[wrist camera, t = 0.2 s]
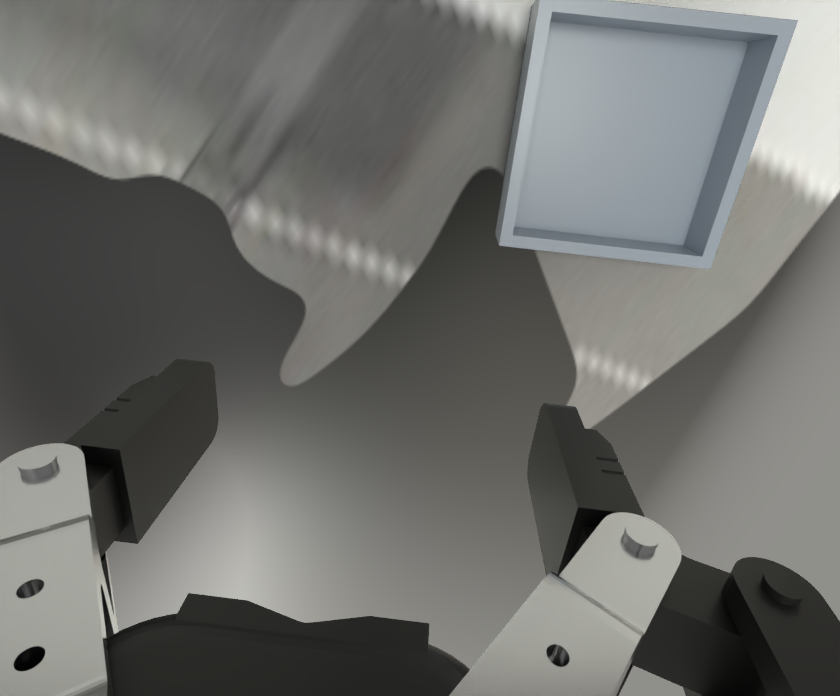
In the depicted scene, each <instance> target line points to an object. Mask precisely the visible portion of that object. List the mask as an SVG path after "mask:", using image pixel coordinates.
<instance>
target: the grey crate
mask: <svg viewBox="0 0 840 696" xmlns="http://www.w3.org/2000/svg"><path fill="white" fill-rule="evenodd" d="M797 21H798V20H789V19H779V18H770V17H760V16H751V15H741V14H732V13H722V12H713V11H703V10H693V9H684V8H674V7H665V6H655V5H646V4H636V3H627V2H617V1H607V0H536V1H535V3H534V4H533V5H532V7H531V13H530V19H529V26H528V32H527V38H526V44H525V50H524V57H523V63H522V69H521V75H520V81H519V88H518V94H517V100H516V106H515V112H514V119H513V125H512V131H511V137H510V143H509V150H508V156H507V162H506V168H505V174H504V181H503V187H502V194H501V199H500V206H499V212H498V218H497V224H496V231H495V234H496V238H497V240H498V244H499V245H500V246H508V247H517V248H526V249H534V250H543V251H552V252H561V253H570V254H579V255H588V256H597V257H605V258H614V259H623V260H632V261H641V262H650V263H659V264H668V265H676V266H685V267H694V268H703V269H710V268H711V266H712V263H713V260H714V257H715V254H716V251H717V249H718V246H719V243H720V240H721V237H722V234H723V231H724V229H725V226H726V223H727V220H728V217H729V214H730V212H731V209H732V206H733V203H734V200H735V197H736V195H737V192H738V189H739V186H740V183H741V180H742V178H743V175H744V172H745V169H746V166H747V163H748V161H749V158H750V155H751V152H752V149H753V146H754V144H755V141H756V138H757V135H758V132H759V129H760V126H761V124H762V121H763V118H764V115H765V112H766V109H767V107H768V104H769V101H770V98H771V95H772V92H773V90H774V87H775V84H776V81H777V78H778V75H779V73H780V70H781V67H782V64H783V61H784V58H785V56H786V53H787V50H788V47H789V44H790V41H791V38H792V36H793V33H794V30H795V27H796V24H797Z"/></svg>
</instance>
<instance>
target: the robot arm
mask: <svg viewBox="0 0 840 696" xmlns="http://www.w3.org/2000/svg"><path fill="white" fill-rule="evenodd" d="M217 426H218V407H217V396H216V384H215V372H214V368H213V365H212V364H211V363H210V362H203V361H194V360H186V359H176V360H175V361H174V362H173V363H171V364H170V365H169V366H168V367H167V368H166V369H165V370H164V371H162V373H160V374H159V375H158V376H151V377H149V378H147V379H145V380H142V381H140V382H138V383H136V384H133V385H131V386H130V387H129V388H128V389H127V390H126V391H124V392H123V393H122V394H121V395H120V396H118V397H117V400H116V401H115V400H114V401H113V402H111V403H110V404H109V405H108V406H107V407H106V408H105V410H104V411H101V412H100V413H99V414H97V415H96V416H95V417H94V418H93V419H92V420H90V421H89V422H88V423H87V424H86V425H85V426H83V427H82V428H81V429H80V430H79V431H78V432H76V433H75V434H74V435H73V436H72V437H70V438H69V439H68V440H67V441H66V442H65V443H63V444H61V443H59V444H46V445H40V446H36V447H32V448H28V449H25V450H23V451H20V452H18V453H16V454H14V455H12V456H10V457H8V458H7V459H5V460H4V461H3V462H1V463H0V696H619V695H620V693H621V691H622V689H623V687H624V685H625V683H626V681H627V679H628V677H629V675H630V673H631V671H632V668H633V667H634V666H636V667H639V668H641V669H643V670H646V671H648V672H650V673H652V674H655V675H657V676H659V677H662V678H664V679H666V680H668V681H671V682H673V683H676V684H678V685H680V686H682V687H683V688H684V691H685V694H686V696H840V621H839V620H838V619H837V617H836V615H835V614H834V613H833V611H832V610H831V608H830V607H829V605H828V604H827V602H826V601H825V599H824V598H823V597H822V596H821V594H820V593H819V592H818V591H817V590H816V589H815V588H814V587H813V586H812V585H811V584H810V583H809V582H808V581H807V580H805V579H804V578H803V577H801V576H800V575H799V574H797V573H795V572H794V571H792V570H791V569H789V568H787V567H785V566H783V565H781V564H778V563H776V562H773V561H770V560H767V559H762V558H756V557H748V558H743V559H740V560H739V561H737V562H736V563H735V565H734V567H733V569H732V571H731V573H728V572H725V571H722V570H720V569H717V568H714V567H711V566H708V565H706V564H703V563H700V562H697V561H694V560H692V559H689V558H687V557H685V556H683V555H681V551H680V548H679V546H678V544H677V542H676V541H675V539H674V538H673V537H672V536H671V535H670V533H669V532H667V531H666V530H665V529H664V528H663V527H661V526H660V525H658V524H657V523H655V522H653V521H652V520H650V519H647V518H645V517H644V515H643V512H642V510H641V508H640V506H639V504H638V502H637V499H636V497H635V495H634V493H633V491H632V489H631V487H630V484H629V482H628V480H627V478H626V476H625V475H624V471H623V469H622V467H621V465H620V463H619V462H618V459H617V456H616V454H615V452H614V450H613V448H612V446H611V444H610V443H609V442H608V441H607V440H606V439H605V438H604V437H603V436H602V435H601V434H600V433H599V432H598V431H597V430H592V429H585V428H584V426H583V423H582V421H581V418H580V416H579V413H578V411H577V409H576V407H573V406H564V405H556V404H548V403H544V404H543V405H542V406H541V409H540V412H539V416H538V421H537V425H536V429H535V433H534V437H533V441H532V445H531V450H530V454H529V459H528V472H527V473H528V474H527V475H528V484H529V489H530V494H531V500H532V505H533V510H534V515H535V520H536V525H537V530H538V536H539V541H540V546H541V551H542V556H543V561H544V566H545V572H546V577H545V578H544V579H543V581H542V582H541V583H540V584H539V585H538V587H537V588H536V589H535V590H534V592H533V593H532V594H531V595H530V596H529V598H528V599H527V600H526V601H525V602H524V604H523V605H522V606H521V607H520V609H519V610H518V611H517V612H516V614H515V615H514V616H513V617H512V619H511V620H510V621H509V622H508V624H507V625H506V626H505V627H504V629H503V630H502V631H501V632H500V633H499V635H498V636H497V637H496V639H495V640H494V641H493V642H492V643H491V645H490V646H489V647H488V648H487V650H486V651H485V652H484V653H483V654H482V656H481V657H480V658H479V660H478V661H477V662H476V663H475V664H474V666H473V667H472V668H471V669H469V668H467V667H466V666H465V665H464V664H463V663H461V662H460V661H459V660H457V659H456V658H454V657H453V656H452V655H449V654H448V653H446V652H444V651H442V650H440V649H439V648H436V647H434V646H432V645H429V644H428V636H429V624H428V623H420V622H412V621H404V620H397V619H388V618H380V617H373V616H366V617H357V618H349V619H340V620H331V621H324V622H313V623H303V622H299V621H296V620H294V619H291V618H289V617H287V616H284V615H282V614H279V613H277V612H274V611H272V610H269V609H267V608H264V607H262V606H259V605H257V604H254V603H252V602H249V601H246V600H238V599H229V598H222V597H214V596H206V595H198V594H190V593H189V594H188V595H187V597H186V599H185V601H184V603H183V604H182V606H181V608H180V610H179V612H178V614H171V615H166V616H162V617H157V618H153V619H151V620H147V621H144V622H141V623H138V624H136V625H133V626H131V627H128V628H126V629H123V630H121V631H118V625H117V618H116V612H115V604H114V597H113V590H112V583H111V577H110V570H109V563H108V558H107V554H106V551H107V549H108V548H109V547H110V545H111V544H112V543H113V542H114V541H120V542H128V543H136V544H138V543H139V541H140V540H141V539H142V537H143V536H144V534H145V533H146V532H147V530H148V529H149V528H150V526H151V525H152V523H153V522H154V521H155V519H156V518H157V517H158V515H159V514H160V512H161V511H162V510H163V508H164V507H165V506H166V504H167V503H168V502H169V500H170V499H171V497H172V496H173V495H174V493H175V492H176V491H177V489H178V488H179V486H180V485H181V484H182V482H183V481H184V480H185V478H186V477H187V476H188V474H189V472H190V471H191V470H192V469H193V467H194V466H195V465H196V463H197V462H198V460H199V459H200V458H201V456H202V455H203V454H204V452H205V451H206V450H207V448H208V447H209V445H210V444H211V442H212V441H213V439H214V437H215V434H216V431H217Z"/></svg>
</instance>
